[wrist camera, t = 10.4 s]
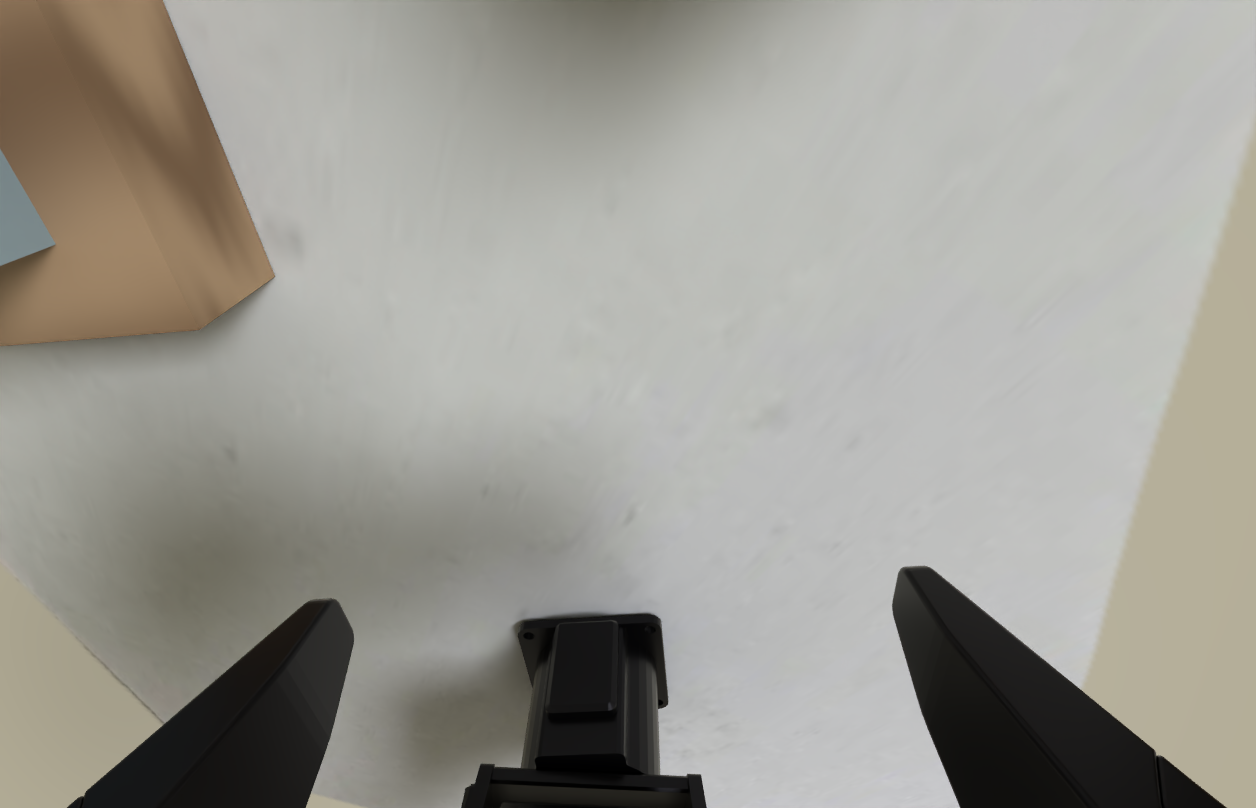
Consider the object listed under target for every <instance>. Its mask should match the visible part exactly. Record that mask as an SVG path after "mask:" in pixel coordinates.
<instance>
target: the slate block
mask: <svg viewBox="0 0 1256 808" xmlns="http://www.w3.org/2000/svg"><path fill="white" fill-rule="evenodd" d="M53 245H56V244H55V242H54V240H53V238H52V237H51V235H50V233H49V232H48V230H47V228H46V226H45V225H44V223H43V221H42V220H41V218H40V216H39V214H38V213H37V211H36V209H35V208H34V206H33V204H32V202H31V201H30V199H29V197H28V196H27V194H26V192H25V190H24V189H23V187H22V185H21V184H20V182H19V180H18V178H17V177H16V175H15V173H14V171H13V170H12V168H11V166H10V165H9V163H8V161H7V159H6V158H5V156H4V154H3V153H2V151H1V149H0V266H1V265H4V264H6V263H9V262H12V261H14V260H17V259H19V258H22V257H25V256H27V255H30V254H32V253H35V252H37V251H40V250H43V249H45V248H48V247H50V246H53Z"/></svg>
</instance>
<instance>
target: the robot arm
mask: <svg viewBox="0 0 1256 808" xmlns="http://www.w3.org/2000/svg"><path fill="white" fill-rule="evenodd" d="M892 609H893V616H894V620H895V623H896V627H897V630H898V634H899V637H900V641H901V644H902V647H903V651H904V654H905V658H906V661H907V665H908V668H909V672H910V675H911V678H912V682H913V685H914V689H915V692H916V696H917V699H918V702H919V705H920V709H921V712H922V715H923V717H924V720H925V723H926V725H927V728H928V730H929V733H930V735H931V738H932V740H933V743H934V745H935V747H936V750H937V752H938V755H939V757H940V760H941V762H942V765H943V767H944V769H945V772H946V774H947V777H948V779H949V782H950V784H951V786H952V789H953V791H954V794H955V796H956V799H957V801H958V803H959V806H960V808H1226V807H1225V806H1224V805H1223V804H1221V803H1220V802H1219V801H1218V800H1216V799H1215V798H1214V797H1213V796H1211V795H1210V794H1209V793H1207V792H1206V791H1205V790H1204V789H1202V788H1201V787H1200V786H1199V785H1197V784H1196V783H1195V782H1193V781H1192V780H1191V779H1190V778H1188V777H1187V776H1186V775H1185V774H1184V773H1182V772H1181V771H1180V770H1179V769H1177V768H1176V767H1175V766H1174V765H1172V764H1171V763H1170V762H1169V761H1168V760H1166V759H1165V758H1164V757H1162V756H1159V755H1158V756H1156V752H1155V750H1154V749H1153V748H1151V747H1150V746H1149V745H1148V744H1146V743H1145V742H1144V741H1143V740H1141V739H1140V738H1139V737H1138V736H1137V735H1135V734H1134V733H1133V732H1132V731H1131V730H1129V729H1128V728H1127V727H1126V726H1124V725H1123V724H1122V723H1121V722H1119V721H1118V720H1117V719H1116V718H1114V717H1113V716H1112V715H1111V714H1110V713H1109V712H1107V711H1106V710H1105V709H1104V708H1102V707H1101V706H1100V705H1099V704H1097V703H1096V702H1095V701H1094V700H1093V699H1091V698H1090V697H1089V696H1088V695H1086V694H1085V693H1084V692H1083V691H1082V690H1080V689H1079V688H1078V687H1077V686H1075V685H1074V684H1073V683H1072V682H1071V681H1069V680H1068V679H1067V678H1066V677H1064V676H1063V675H1062V674H1061V673H1059V672H1058V671H1057V670H1056V669H1055V668H1053V667H1052V666H1051V665H1050V664H1048V663H1047V662H1046V661H1045V660H1044V659H1042V658H1041V657H1040V656H1039V655H1037V654H1036V653H1035V652H1034V651H1032V650H1031V649H1030V648H1029V647H1028V646H1026V645H1025V644H1024V643H1023V642H1021V641H1020V640H1019V639H1018V638H1017V637H1015V636H1014V635H1013V634H1012V633H1010V632H1009V631H1008V630H1007V629H1006V628H1004V627H1003V626H1002V625H1001V624H999V623H998V622H997V621H996V620H994V619H993V618H992V617H991V616H990V615H988V614H987V613H986V612H985V611H983V610H982V609H981V608H980V607H979V606H977V605H976V604H975V603H974V602H972V601H971V600H970V599H969V598H968V597H966V596H965V595H964V594H963V593H961V592H960V591H959V590H958V589H956V588H955V587H954V586H953V585H952V584H950V583H949V582H948V581H947V580H945V579H944V578H943V577H942V576H941V575H939V574H938V573H937V572H936V571H934V570H933V569H932V568H930V567H927V566H911V567H903V568H901V569H900V571H899V573H898V577H897V582H896V587H895V592H894V597H893V603H892ZM518 638H519V642H520V645H521V649H522V653H523V656H524V660H525V663H526V667H527V670H528V674H529V677H530V681H531V685H532V688H533V690H532V697H531V703H530V710H529V717H528V723H527V730H526V736H525V743H524V749H523V756H522V762H521V768H508V767H495V764H480V768H479V771H478V775H477V778H476V782H475V784H471V786H469V787H467V788H466V789H465V793H464V798H463V802H462V807H461V808H706V802H705V796H704V790H703V784H702V778H701V775H700V774H687V776H669V775H660V754H659V725H658V709H660V708H664V707H666V706H667V705H668V690H667V680H666V669H665V658H664V647H663V636H662V625H661V620H660V619H659V618H658V617H657V616H654V615H640V616H621V617H602V618H583V619H564V620H545V621H528V622H524V623H522V624H521V625H520V626H519V632H518ZM353 644H354V634H353V630H352V627H351V625H350V623H349V621H348V619H347V617H346V615H345V613H344V611H343V609H342V607H341V605H340V603H339V602H338V601H337V600H335V599H332V598H330V599H314V600H310V601H308V602H307V603H305V604H304V605H303V606H302V607H300V608H299V609H298V610H297V611H296V612H295V613H293V614H292V615H291V616H290V617H289V618H288V619H286V620H285V621H284V622H283V623H282V624H281V625H279V626H278V627H277V628H276V629H275V630H274V631H272V632H271V633H270V634H269V635H268V636H267V637H265V638H264V639H263V640H262V641H261V642H260V643H258V644H257V645H256V646H255V647H254V648H253V649H251V650H250V651H249V652H248V653H247V654H246V655H244V656H243V657H242V658H241V659H240V660H239V661H237V662H236V663H235V664H234V665H233V666H232V667H230V668H229V669H228V670H227V671H226V672H225V673H223V674H222V675H221V676H220V677H219V678H218V679H216V680H215V681H214V682H213V683H212V684H211V685H209V686H208V687H207V688H206V689H205V690H204V691H202V692H201V693H200V694H199V695H198V696H197V697H195V698H194V699H193V700H192V701H191V702H190V703H188V704H187V705H186V706H185V707H184V708H183V709H181V710H180V711H179V712H178V713H177V714H176V715H174V716H173V717H172V718H171V719H170V720H169V721H167V722H166V723H165V724H164V725H163V726H162V727H160V728H159V729H158V730H157V731H156V732H155V733H153V734H152V735H151V736H150V737H149V738H148V739H147V740H145V741H144V742H143V743H142V744H141V745H139V746H138V747H137V748H136V749H135V750H134V751H133V752H131V753H130V754H129V755H128V756H127V757H126V758H124V759H123V760H122V761H121V762H120V763H119V764H117V765H116V766H115V767H114V768H113V769H112V770H110V771H109V772H108V773H107V774H106V775H105V776H103V777H102V778H101V779H100V780H99V781H98V782H96V783H95V784H94V785H93V786H92V787H91V788H90V789H88V790H87V791H86V793H85V795H84V797H83V796H81V797H79V798H77V799H76V800H75V801H74V802H73V803H72V804H70V805H69V806H68V807H67V808H306V805H307V802H308V799H309V797H310V794H311V791H312V788H313V785H314V783H315V780H316V777H317V774H318V771H319V769H320V766H321V763H322V760H323V757H324V754H325V751H326V748H327V745H328V742H329V739H330V736H331V732H332V729H333V725H334V721H335V717H336V713H337V709H338V705H339V701H340V697H341V693H342V689H343V685H344V681H345V677H346V673H347V669H348V665H349V661H350V657H351V653H352V649H353Z"/></svg>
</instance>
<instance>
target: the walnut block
mask: <svg viewBox="0 0 1256 808" xmlns="http://www.w3.org/2000/svg"><path fill="white" fill-rule="evenodd" d="M0 149H1V151H2V153H3V154H4V156H5V158H6V159H7V161H8V163H9V165H10V166H11V168H12V170H13V171H14V173H15V175H16V177H17V178H18V180H19V182H20V184H21V185H22V187H23V189H24V190H25V192H26V194H27V196H28V197H29V199H30V201H31V202H32V204H33V206H34V208H35V209H36V211H37V213H38V214H39V216H40V218H41V220H42V221H43V223H44V225H45V226H46V228H47V230H48V232H49V233H50V235H51V237H52V238H53V240H54V242H55V244H56V245H53V246H50V247H48V248H45V249H43V250H40V251H37V252H35V253H32V254H30V255H27V256H25V257H22V258H19V259H17V260H14V261H12V262H9V263H6V264H4V265H1V266H0V346H7V345H19V344H32V343H44V342H56V341H69V340H81V339H93V338H106V337H118V336H130V335H143V334H155V333H167V332H179V331H192V330H200V329H202V328H203V327H205V326H206V325H207V324H209V323H210V322H212V321H213V320H214V319H216V318H217V317H219V316H220V315H222V314H223V313H224V312H226V311H227V310H229V309H230V308H231V307H233V306H234V305H236V304H237V303H238V302H240V301H241V300H243V299H244V298H245V297H247V296H248V295H250V294H251V293H252V292H254V291H255V290H257V289H258V288H260V287H261V286H262V285H264V284H265V283H267V282H268V281H269V280H271V279H272V278H274V277H275V275H274V273H273V270H272V268H271V265H270V263H269V260H268V258H267V256H266V253H265V251H264V248H263V246H262V243H261V241H260V238H259V236H258V233H257V231H256V229H255V226H254V224H253V221H252V219H251V216H250V214H249V211H248V209H247V206H246V204H245V202H244V199H243V197H242V194H241V192H240V189H239V187H238V184H237V182H236V179H235V177H234V175H233V172H232V170H231V167H230V165H229V162H228V160H227V157H226V155H225V152H224V150H223V147H222V145H221V143H220V140H219V138H218V135H217V133H216V130H215V128H214V125H213V123H212V120H211V118H210V116H209V113H208V111H207V108H206V106H205V103H204V101H203V98H202V96H201V93H200V91H199V89H198V86H197V84H196V81H195V79H194V76H193V74H192V71H191V69H190V66H189V64H188V62H187V59H186V57H185V54H184V52H183V49H182V47H181V44H180V42H179V39H178V37H177V35H176V32H175V30H174V27H173V25H172V22H171V20H170V17H169V15H168V12H167V10H166V8H165V5H164V3H163V0H0Z"/></svg>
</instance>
